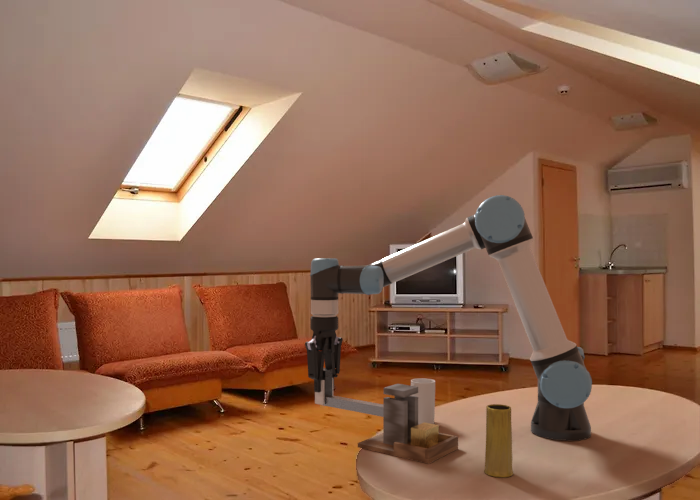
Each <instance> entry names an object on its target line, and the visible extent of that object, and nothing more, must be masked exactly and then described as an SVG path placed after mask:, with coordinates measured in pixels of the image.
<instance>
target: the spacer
mask: <svg viewBox="0 0 700 500" xmlns="http://www.w3.org/2000/svg"><path fill="white" fill-rule="evenodd" d="M439 427H440V426H439V425H438V424H435V423H434V424H430V423H425V422H424V423H422V424H419V425H416V426H414V427H411V445H413V446H418V447H423V448H429V447H432V446H434V445H436V444H438V443H439V433H440V432H439Z"/></svg>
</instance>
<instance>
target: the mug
mask: <svg viewBox="0 0 700 500" xmlns="http://www.w3.org/2000/svg"><path fill="white" fill-rule="evenodd" d="M410 386H416V387H418V393H416V394H413V395H410V396H416V397H418V425H419V424H422V423H424V422H425V423H430V424H435V414H436V413H435V412H436V407H435V406H436V380H435V379H432V378H412V379H410Z"/></svg>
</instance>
